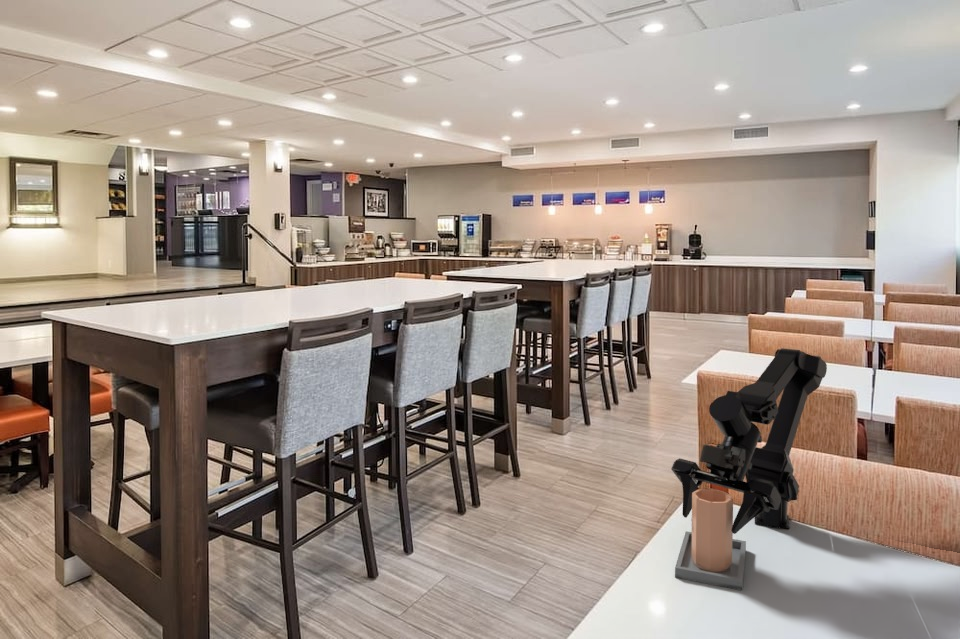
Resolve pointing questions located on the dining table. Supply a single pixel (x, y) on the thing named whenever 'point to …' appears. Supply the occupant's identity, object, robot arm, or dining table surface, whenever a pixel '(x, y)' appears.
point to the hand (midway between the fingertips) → (707, 524)
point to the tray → (725, 579)
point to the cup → (712, 530)
